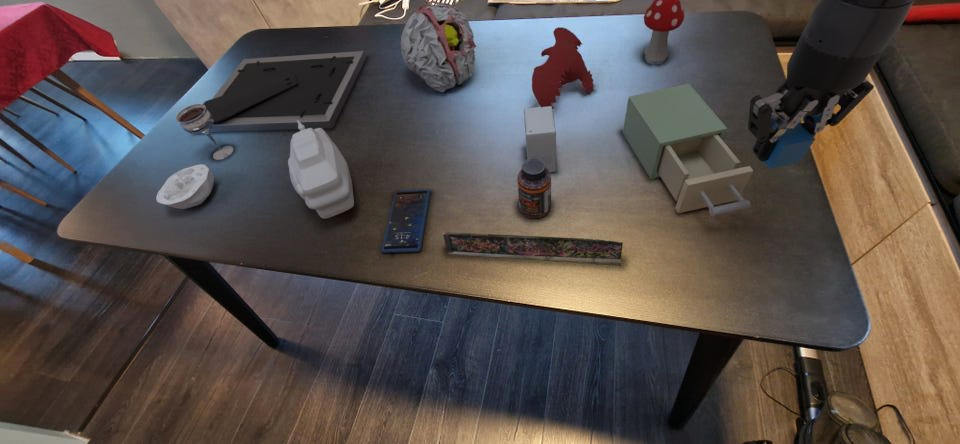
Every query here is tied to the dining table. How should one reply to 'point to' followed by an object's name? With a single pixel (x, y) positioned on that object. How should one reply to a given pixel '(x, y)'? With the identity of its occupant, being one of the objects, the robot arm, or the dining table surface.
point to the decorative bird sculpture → (560, 68)
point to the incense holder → (534, 248)
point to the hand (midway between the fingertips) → (777, 152)
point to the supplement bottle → (534, 188)
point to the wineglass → (201, 126)
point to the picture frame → (285, 92)
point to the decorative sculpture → (439, 45)
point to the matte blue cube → (790, 147)
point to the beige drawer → (704, 175)
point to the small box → (541, 135)
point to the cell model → (187, 187)
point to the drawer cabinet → (667, 122)
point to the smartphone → (406, 222)
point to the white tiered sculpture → (320, 172)
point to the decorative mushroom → (661, 27)
